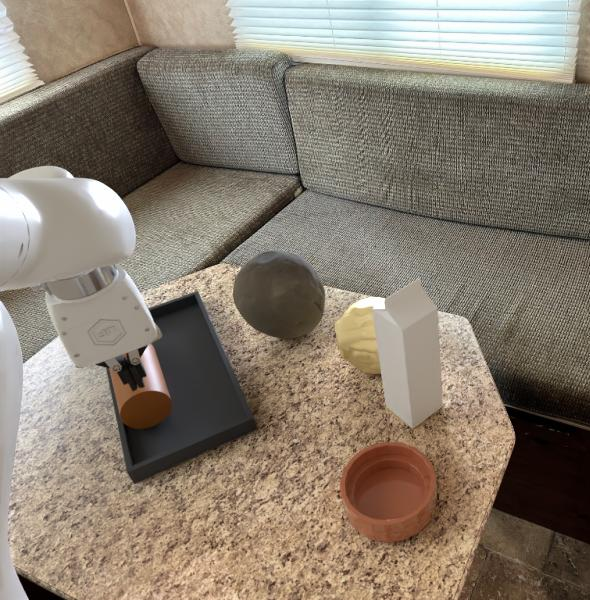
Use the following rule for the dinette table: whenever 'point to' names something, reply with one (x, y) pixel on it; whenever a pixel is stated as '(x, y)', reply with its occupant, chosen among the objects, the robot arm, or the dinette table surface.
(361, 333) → the sculpture
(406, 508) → the bowl
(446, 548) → the dinette table surface
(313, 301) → the dark grey rock
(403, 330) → the milk
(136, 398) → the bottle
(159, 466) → the tray
